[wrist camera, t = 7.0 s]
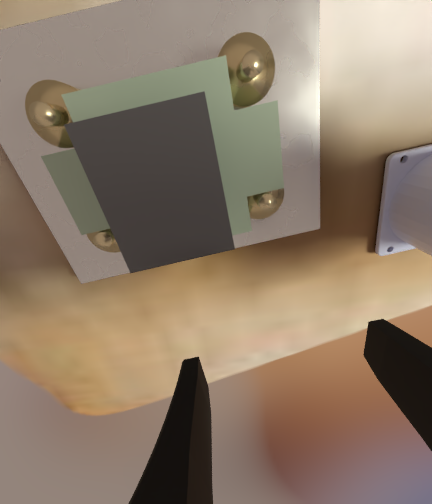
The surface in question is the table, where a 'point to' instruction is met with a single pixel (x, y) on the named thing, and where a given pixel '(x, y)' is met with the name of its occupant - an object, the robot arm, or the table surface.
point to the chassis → (153, 60)
